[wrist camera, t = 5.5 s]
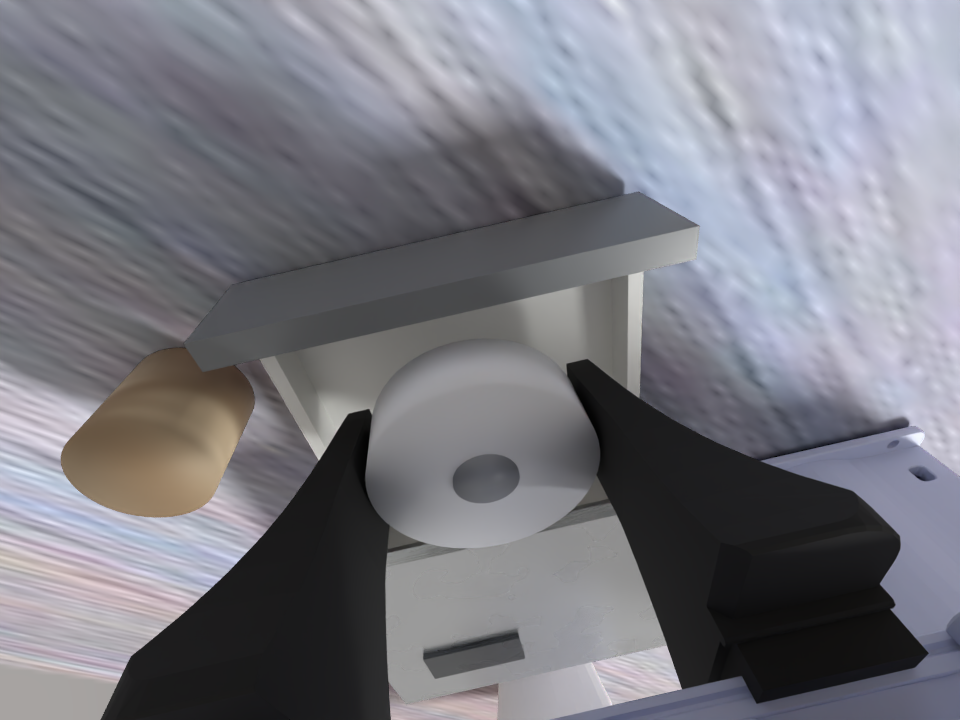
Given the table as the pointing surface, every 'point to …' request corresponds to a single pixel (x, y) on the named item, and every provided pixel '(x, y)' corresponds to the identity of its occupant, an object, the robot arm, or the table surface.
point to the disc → (479, 445)
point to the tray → (450, 308)
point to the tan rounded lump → (161, 437)
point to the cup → (552, 694)
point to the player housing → (515, 607)
